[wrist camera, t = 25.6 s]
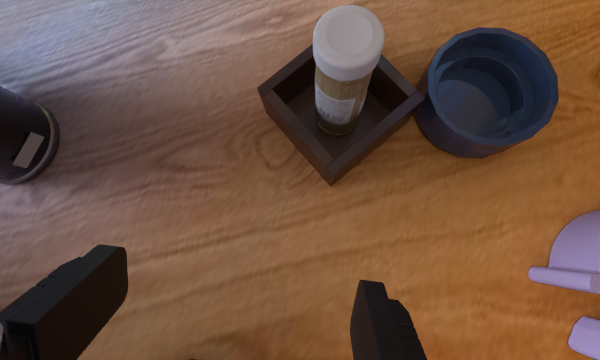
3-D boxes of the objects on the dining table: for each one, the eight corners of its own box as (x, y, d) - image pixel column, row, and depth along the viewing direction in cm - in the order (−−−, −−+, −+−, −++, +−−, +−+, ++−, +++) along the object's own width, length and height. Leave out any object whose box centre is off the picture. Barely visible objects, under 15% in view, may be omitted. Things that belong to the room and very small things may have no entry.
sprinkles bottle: (368, 115, 33) (401, 30, 20) (337, 146, 33) (351, 80, 20) (335, 86, 34) (346, -12, 21) (305, 117, 34) (297, 35, 20)
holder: (266, 112, 35) (256, 87, 29) (340, 53, 36) (345, 17, 30) (330, 186, 33) (333, 175, 27) (407, 122, 34) (425, 98, 28)
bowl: (389, 102, 34) (401, 78, 29) (466, 38, 35) (491, 5, 30) (467, 181, 32) (493, 171, 27) (546, 111, 33) (586, 89, 28)
